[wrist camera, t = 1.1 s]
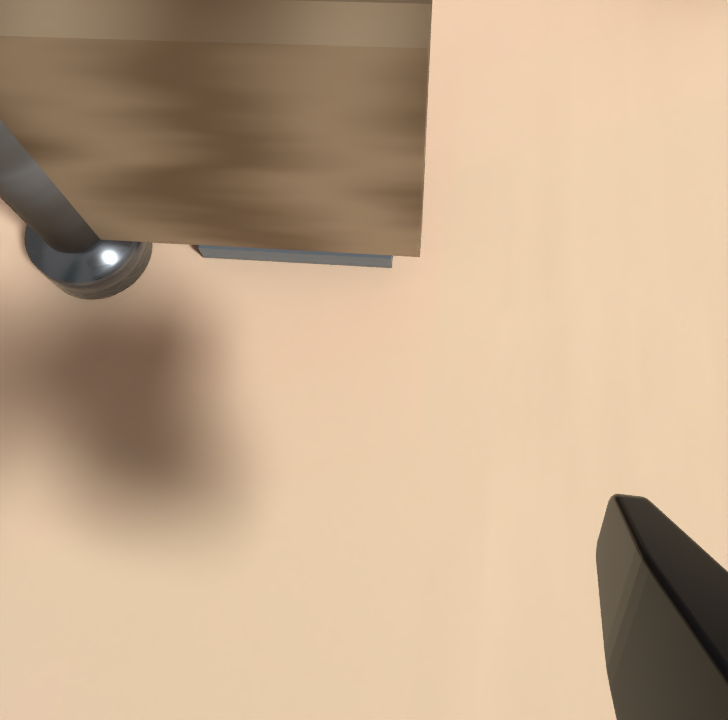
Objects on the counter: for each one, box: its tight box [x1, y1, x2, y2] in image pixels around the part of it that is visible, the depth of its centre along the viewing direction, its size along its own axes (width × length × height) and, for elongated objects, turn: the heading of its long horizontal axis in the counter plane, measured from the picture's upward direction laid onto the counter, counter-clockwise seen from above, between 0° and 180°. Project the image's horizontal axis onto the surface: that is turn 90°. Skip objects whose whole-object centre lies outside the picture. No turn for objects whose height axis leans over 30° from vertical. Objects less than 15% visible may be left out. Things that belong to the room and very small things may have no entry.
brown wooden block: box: [0, 0, 432, 257], centre depth 19 cm, size 13×7×10 cm, turn 85°
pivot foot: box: [25, 224, 152, 299], centre depth 25 cm, size 4×4×2 cm
